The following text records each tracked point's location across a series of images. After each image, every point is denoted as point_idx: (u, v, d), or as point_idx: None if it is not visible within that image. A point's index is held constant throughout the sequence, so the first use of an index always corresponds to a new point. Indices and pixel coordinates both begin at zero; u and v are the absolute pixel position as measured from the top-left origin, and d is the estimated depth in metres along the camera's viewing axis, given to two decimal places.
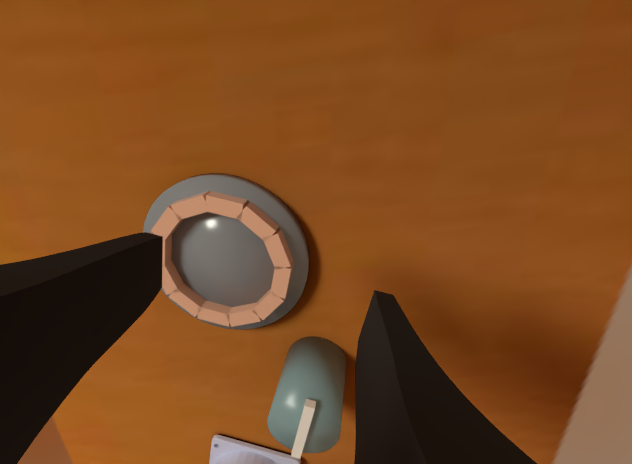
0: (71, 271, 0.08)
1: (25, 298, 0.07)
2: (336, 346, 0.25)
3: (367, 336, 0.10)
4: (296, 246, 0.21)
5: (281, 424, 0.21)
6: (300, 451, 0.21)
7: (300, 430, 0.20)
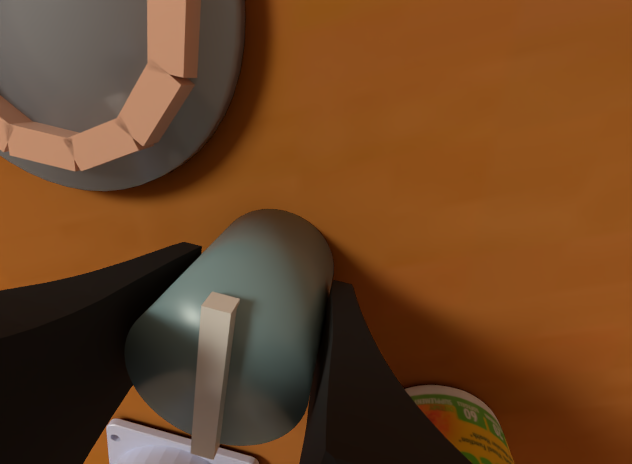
0: (126, 286, 0.08)
1: (88, 315, 0.07)
2: (312, 227, 0.12)
3: (323, 324, 0.10)
4: None
5: (159, 372, 0.08)
6: (210, 442, 0.08)
7: (203, 382, 0.07)
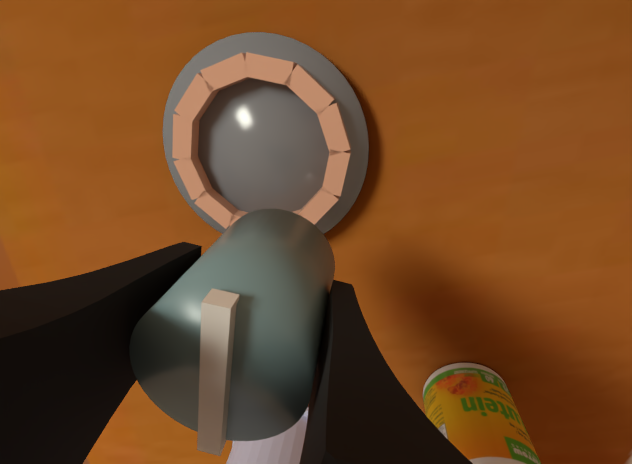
0: (126, 285, 0.08)
1: (88, 315, 0.07)
2: (312, 225, 0.12)
3: None
4: (356, 126, 0.17)
5: (164, 370, 0.08)
6: (216, 437, 0.08)
7: (207, 378, 0.08)
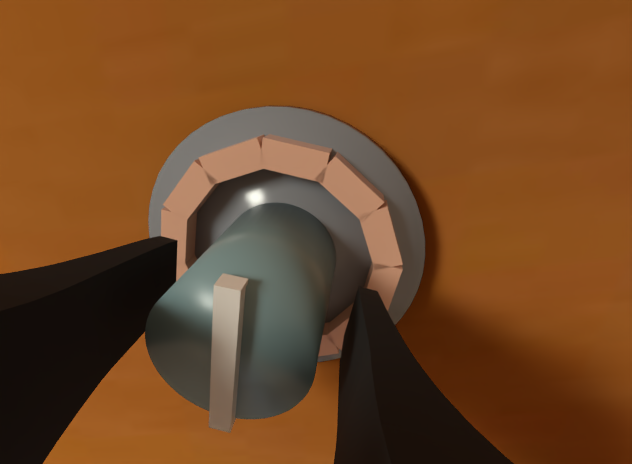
0: (92, 276, 0.08)
1: (49, 304, 0.07)
2: (314, 218, 0.13)
3: (350, 332, 0.10)
4: (409, 230, 0.12)
5: (177, 351, 0.09)
6: (227, 414, 0.09)
7: (218, 358, 0.08)
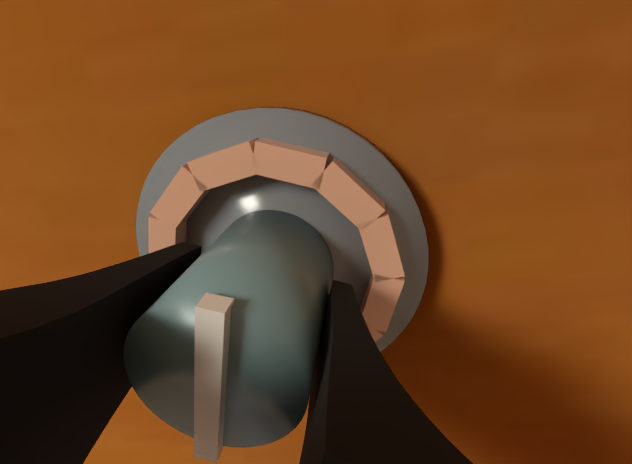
0: (126, 286, 0.08)
1: (88, 315, 0.07)
2: (310, 226, 0.12)
3: (323, 324, 0.10)
4: (412, 239, 0.12)
5: (159, 376, 0.08)
6: (213, 444, 0.08)
7: (201, 384, 0.07)
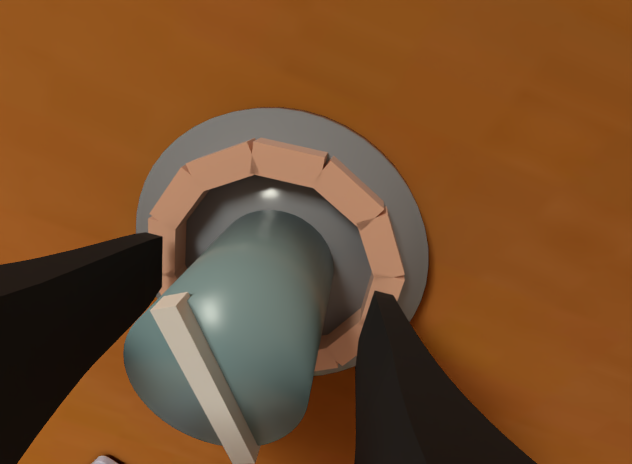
0: (71, 271, 0.08)
1: (25, 298, 0.07)
2: (285, 213, 0.12)
3: (367, 336, 0.10)
4: (405, 302, 0.13)
5: (168, 394, 0.08)
6: (241, 444, 0.08)
7: (197, 386, 0.08)
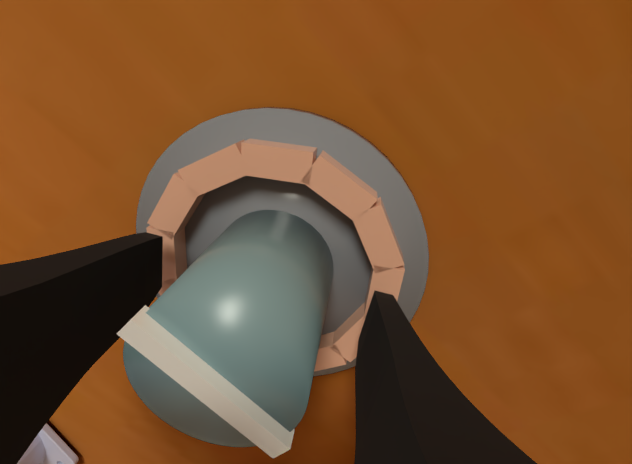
0: (71, 271, 0.08)
1: (25, 298, 0.07)
2: (254, 212, 0.12)
3: (367, 336, 0.10)
4: None
5: (188, 411, 0.08)
6: (266, 434, 0.08)
7: (194, 389, 0.08)
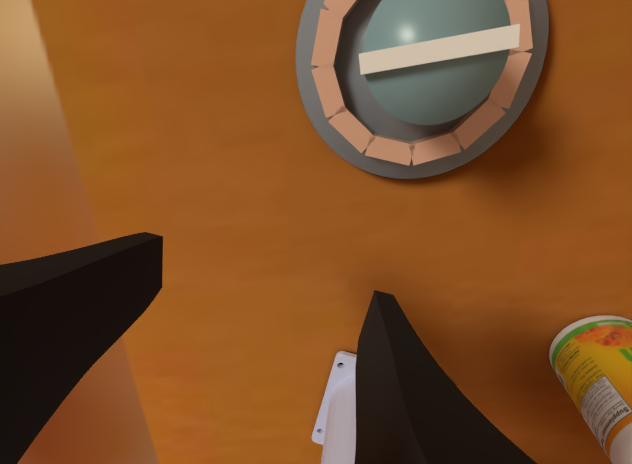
0: (71, 271, 0.08)
1: (25, 298, 0.07)
2: None
3: (367, 336, 0.10)
4: (535, 23, 0.14)
5: (442, 95, 0.11)
6: (495, 33, 0.10)
7: (427, 56, 0.10)
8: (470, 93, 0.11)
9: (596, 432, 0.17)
